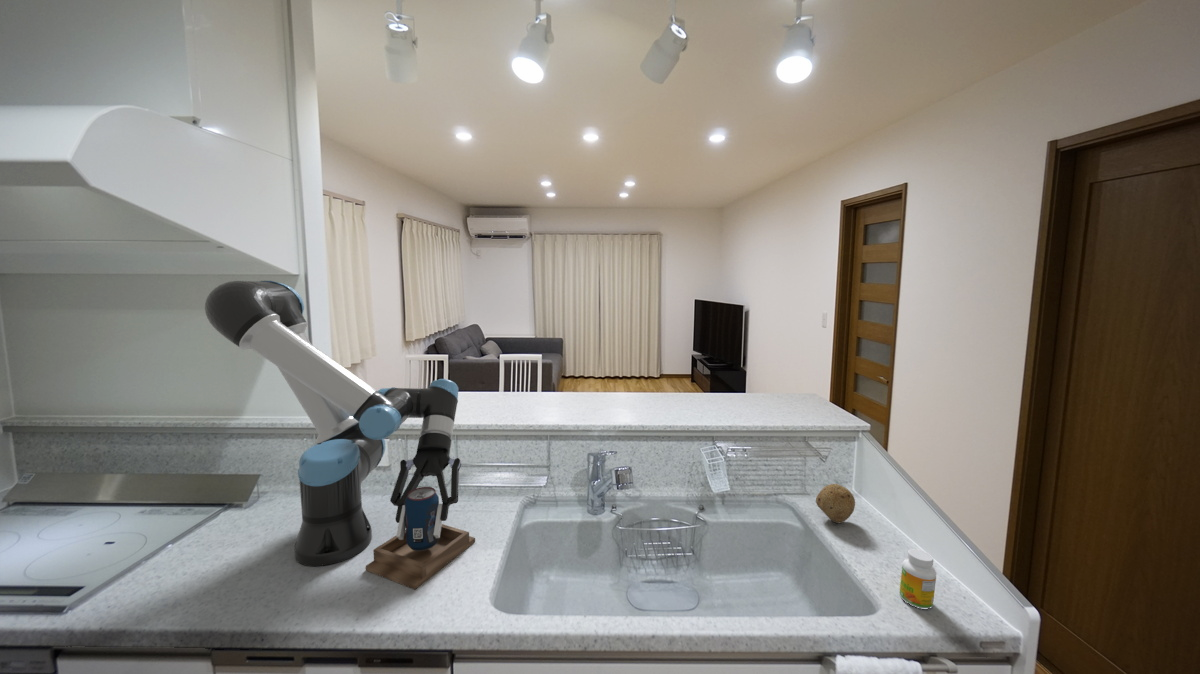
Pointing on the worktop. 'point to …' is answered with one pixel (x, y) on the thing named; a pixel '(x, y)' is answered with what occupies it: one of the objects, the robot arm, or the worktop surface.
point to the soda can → (421, 518)
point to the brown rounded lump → (836, 502)
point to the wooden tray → (418, 557)
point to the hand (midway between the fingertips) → (418, 537)
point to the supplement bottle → (918, 579)
